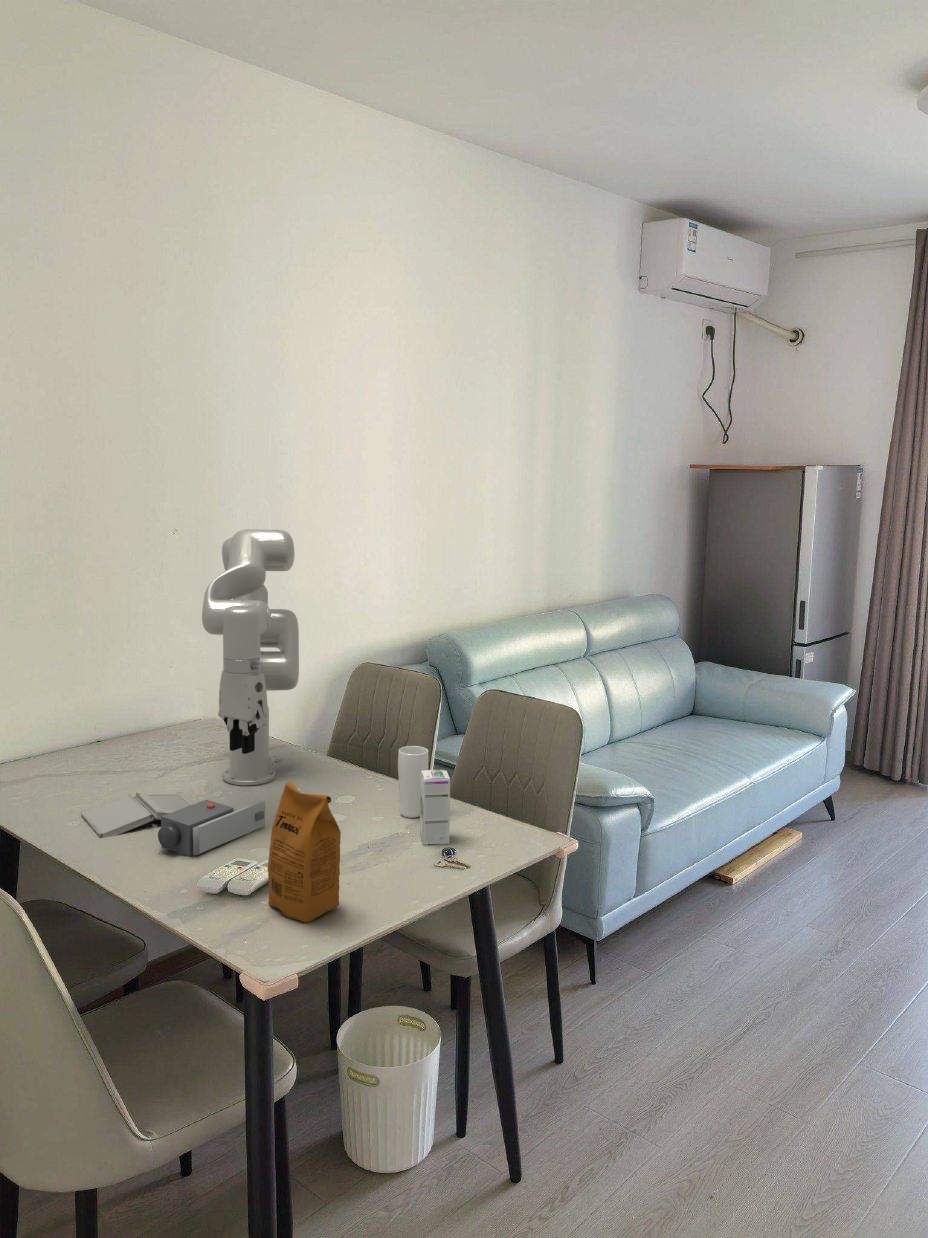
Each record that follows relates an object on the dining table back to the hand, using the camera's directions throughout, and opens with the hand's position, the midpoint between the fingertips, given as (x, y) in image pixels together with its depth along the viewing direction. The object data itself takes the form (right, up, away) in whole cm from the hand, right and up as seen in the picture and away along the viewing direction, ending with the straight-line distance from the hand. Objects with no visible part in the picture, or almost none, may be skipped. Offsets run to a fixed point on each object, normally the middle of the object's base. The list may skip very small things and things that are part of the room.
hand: (242, 750), depth 201 cm
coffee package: (+18, -24, -32) cm, 44 cm away
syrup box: (+40, -19, 0) cm, 45 cm away
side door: (-1, -18, -5) cm, 18 cm away
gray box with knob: (-8, -18, -6) cm, 20 cm away
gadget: (-23, -16, +7) cm, 29 cm away
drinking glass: (+35, -17, +14) cm, 41 cm away
